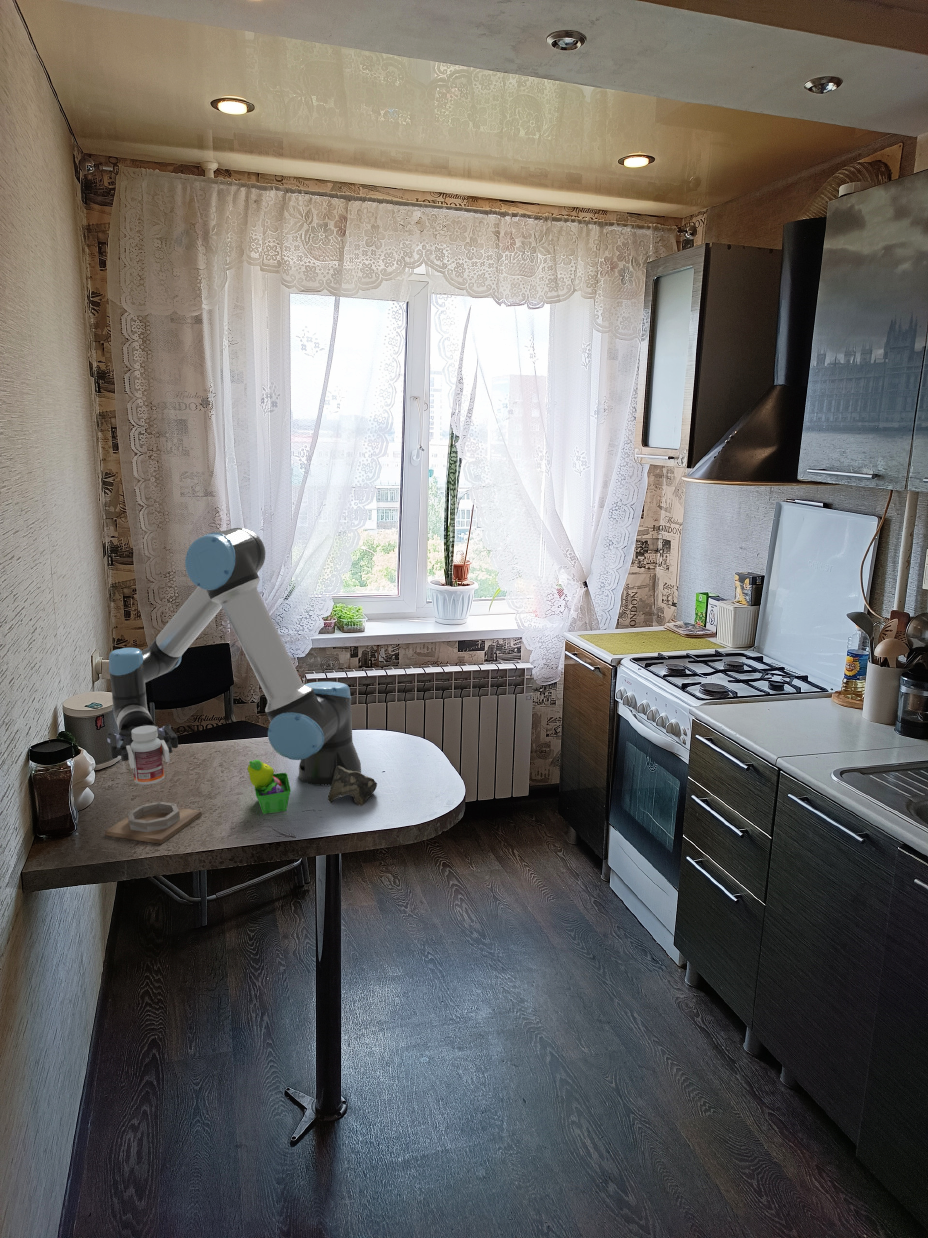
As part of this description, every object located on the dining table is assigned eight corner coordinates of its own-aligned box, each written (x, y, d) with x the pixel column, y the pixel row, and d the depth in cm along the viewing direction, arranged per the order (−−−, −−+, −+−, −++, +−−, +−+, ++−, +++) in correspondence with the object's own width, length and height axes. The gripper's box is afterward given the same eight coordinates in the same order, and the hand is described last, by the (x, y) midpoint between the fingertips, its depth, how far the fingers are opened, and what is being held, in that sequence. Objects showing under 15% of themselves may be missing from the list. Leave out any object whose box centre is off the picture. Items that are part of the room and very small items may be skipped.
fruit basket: (292, 812, 190) (289, 764, 187) (251, 818, 187) (248, 770, 185) (288, 792, 201) (285, 747, 198) (249, 797, 198) (245, 751, 196)
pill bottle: (170, 778, 183) (166, 728, 181) (144, 788, 178) (139, 736, 176) (153, 771, 187) (148, 722, 184) (128, 781, 182) (122, 730, 180)
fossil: (382, 785, 202) (377, 758, 195) (374, 817, 195) (369, 790, 189) (338, 782, 203) (331, 755, 197) (328, 814, 197) (321, 786, 190)
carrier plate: (201, 815, 189) (200, 802, 189) (161, 844, 176) (160, 830, 176) (148, 808, 193) (147, 795, 193) (105, 835, 180) (103, 822, 180)
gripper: (180, 734, 202) (199, 767, 182) (92, 748, 193) (101, 784, 173) (177, 703, 200) (196, 733, 180) (89, 717, 192) (98, 749, 172)
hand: (149, 758), depth 177 cm, fingers closed on pill bottle, 6 cm apart
